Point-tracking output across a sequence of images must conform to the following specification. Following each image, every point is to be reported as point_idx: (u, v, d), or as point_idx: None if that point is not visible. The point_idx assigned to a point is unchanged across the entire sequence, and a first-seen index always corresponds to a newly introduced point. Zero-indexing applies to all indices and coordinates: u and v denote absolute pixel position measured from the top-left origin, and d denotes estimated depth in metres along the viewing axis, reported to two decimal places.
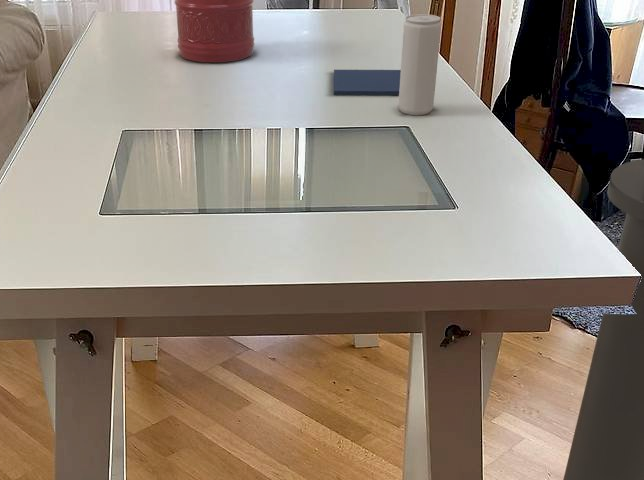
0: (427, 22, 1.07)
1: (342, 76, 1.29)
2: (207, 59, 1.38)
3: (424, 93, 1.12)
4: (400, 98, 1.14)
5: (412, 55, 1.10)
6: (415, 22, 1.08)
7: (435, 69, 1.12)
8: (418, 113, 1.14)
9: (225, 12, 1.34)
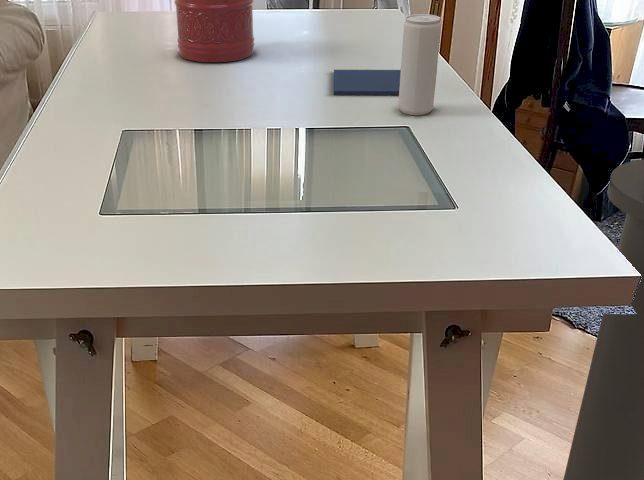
0: (427, 22, 1.07)
1: (342, 76, 1.29)
2: (207, 59, 1.38)
3: (424, 93, 1.12)
4: (400, 98, 1.14)
5: (412, 55, 1.10)
6: (415, 22, 1.08)
7: (435, 69, 1.12)
8: (418, 113, 1.14)
9: (225, 12, 1.34)
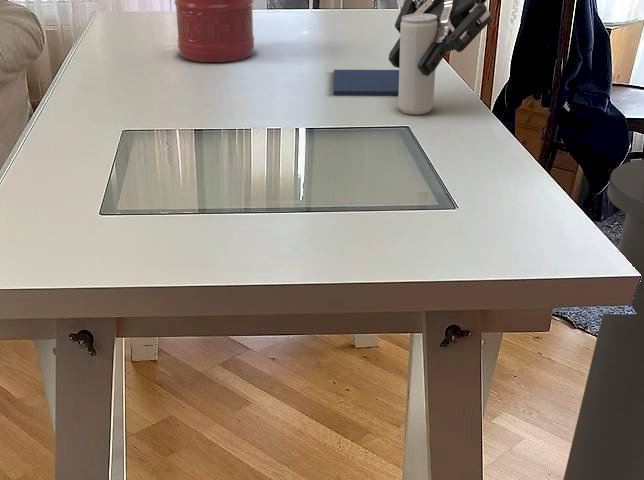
0: (423, 21, 1.07)
1: (342, 76, 1.29)
2: (207, 59, 1.38)
3: (423, 92, 1.12)
4: (399, 98, 1.14)
5: (410, 54, 1.10)
6: (411, 21, 1.08)
7: None
8: (418, 112, 1.14)
9: (225, 12, 1.34)
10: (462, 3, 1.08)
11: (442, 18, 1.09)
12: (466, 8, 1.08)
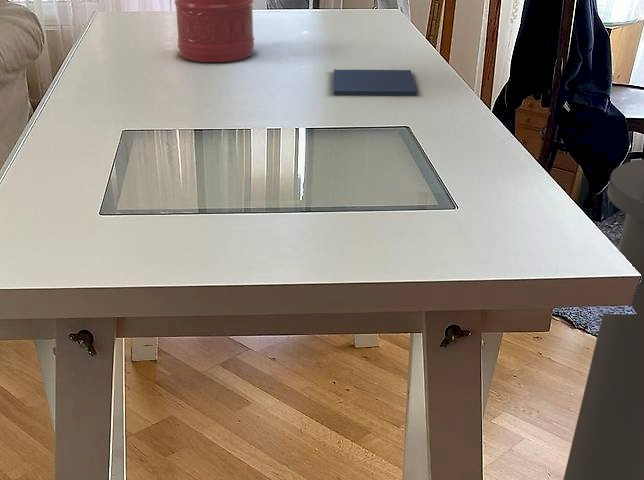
0: None
1: (342, 76, 1.29)
2: (207, 59, 1.38)
3: None
4: None
5: None
6: None
7: None
8: None
9: (225, 12, 1.34)
10: None
11: None
12: None
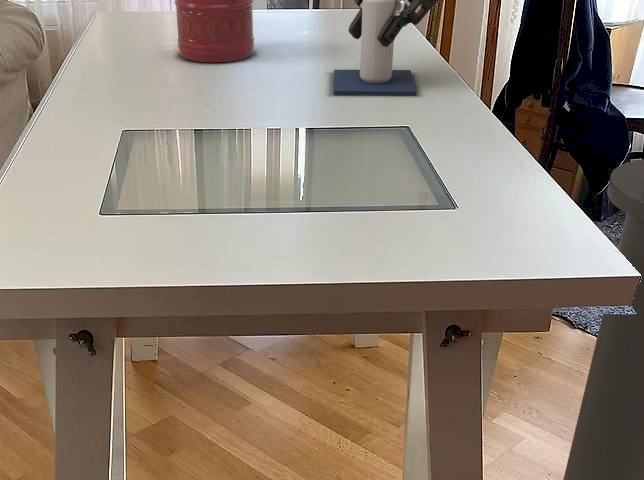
0: None
1: (342, 76, 1.29)
2: (207, 59, 1.38)
3: (382, 63, 1.23)
4: (361, 68, 1.25)
5: (370, 27, 1.21)
6: None
7: None
8: (377, 81, 1.25)
9: (225, 12, 1.34)
10: None
11: None
12: None
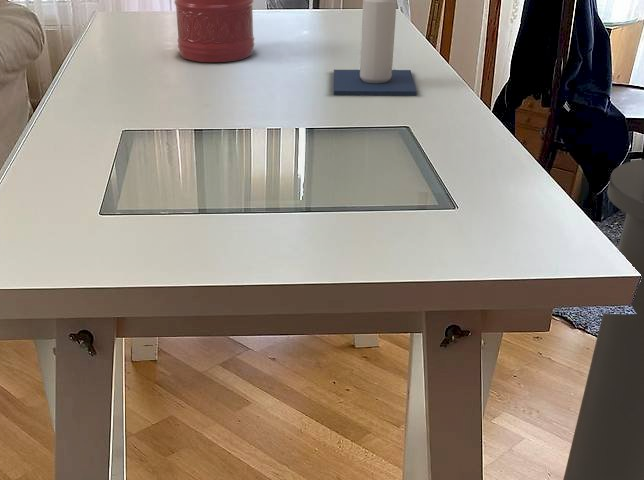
0: None
1: (342, 76, 1.29)
2: (207, 59, 1.38)
3: (382, 63, 1.23)
4: (361, 68, 1.25)
5: (370, 27, 1.21)
6: None
7: (392, 41, 1.23)
8: (377, 81, 1.25)
9: (225, 12, 1.34)
10: None
11: None
12: None
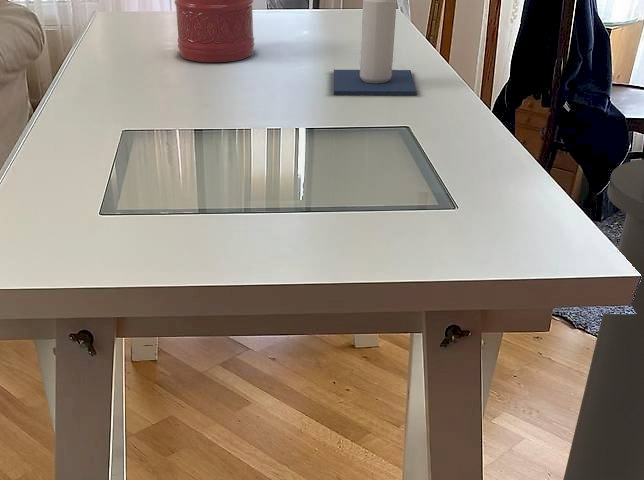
0: None
1: (342, 76, 1.29)
2: (207, 59, 1.38)
3: (382, 63, 1.23)
4: (361, 68, 1.25)
5: (370, 27, 1.21)
6: None
7: (392, 41, 1.23)
8: (377, 81, 1.25)
9: (225, 12, 1.34)
10: None
11: None
12: None
